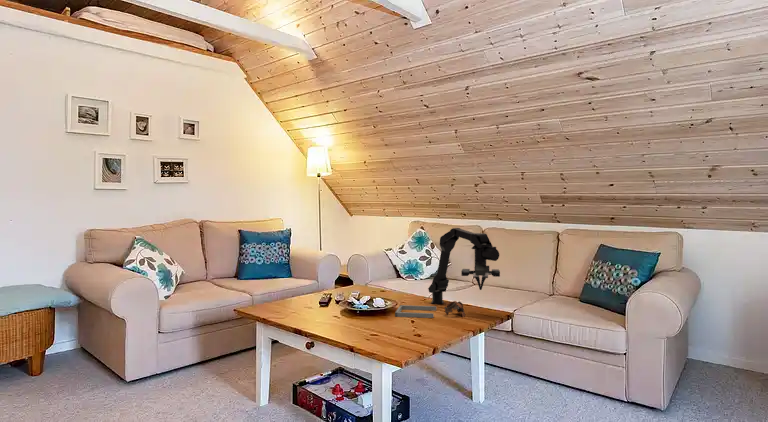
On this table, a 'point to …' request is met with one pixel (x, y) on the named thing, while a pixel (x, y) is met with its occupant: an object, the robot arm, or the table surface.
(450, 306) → the brown arched figure
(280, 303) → the table surface
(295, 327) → the table surface
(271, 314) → the table surface
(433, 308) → the grey u-shaped frame
